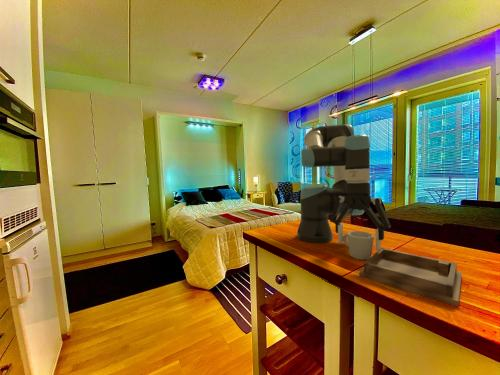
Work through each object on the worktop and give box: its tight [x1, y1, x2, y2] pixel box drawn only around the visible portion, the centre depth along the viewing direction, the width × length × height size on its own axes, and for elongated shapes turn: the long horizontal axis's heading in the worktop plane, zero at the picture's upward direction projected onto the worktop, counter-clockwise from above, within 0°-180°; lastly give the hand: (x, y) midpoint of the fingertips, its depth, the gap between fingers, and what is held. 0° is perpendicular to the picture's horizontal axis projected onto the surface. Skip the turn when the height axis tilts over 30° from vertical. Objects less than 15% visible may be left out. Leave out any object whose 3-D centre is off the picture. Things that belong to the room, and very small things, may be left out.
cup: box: [343, 230, 375, 261], centre depth 74 cm, size 11×8×8 cm
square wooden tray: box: [358, 247, 463, 308], centre depth 59 cm, size 20×18×4 cm
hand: (358, 245), depth 74 cm, fingers open, 11 cm apart
